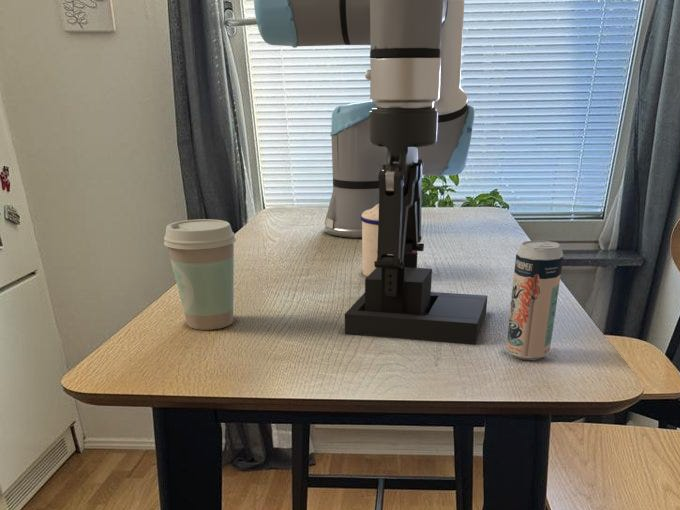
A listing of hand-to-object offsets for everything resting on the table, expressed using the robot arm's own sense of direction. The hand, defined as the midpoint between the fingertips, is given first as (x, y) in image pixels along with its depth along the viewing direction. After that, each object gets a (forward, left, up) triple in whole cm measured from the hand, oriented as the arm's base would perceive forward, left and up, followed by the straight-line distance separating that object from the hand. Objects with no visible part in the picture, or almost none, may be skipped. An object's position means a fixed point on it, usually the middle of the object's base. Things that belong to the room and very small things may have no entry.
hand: (399, 311), depth 85 cm
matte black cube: (0, 0, 0) cm, 0 cm away
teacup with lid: (-25, -7, -2) cm, 26 cm away
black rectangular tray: (0, +2, -1) cm, 3 cm away
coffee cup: (+6, -24, -2) cm, 24 cm away
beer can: (+8, +16, -2) cm, 18 cm away
